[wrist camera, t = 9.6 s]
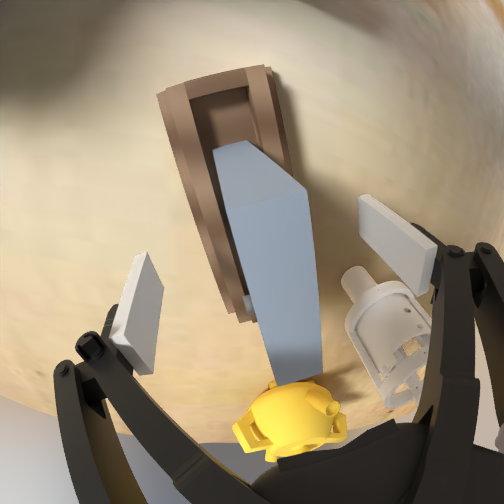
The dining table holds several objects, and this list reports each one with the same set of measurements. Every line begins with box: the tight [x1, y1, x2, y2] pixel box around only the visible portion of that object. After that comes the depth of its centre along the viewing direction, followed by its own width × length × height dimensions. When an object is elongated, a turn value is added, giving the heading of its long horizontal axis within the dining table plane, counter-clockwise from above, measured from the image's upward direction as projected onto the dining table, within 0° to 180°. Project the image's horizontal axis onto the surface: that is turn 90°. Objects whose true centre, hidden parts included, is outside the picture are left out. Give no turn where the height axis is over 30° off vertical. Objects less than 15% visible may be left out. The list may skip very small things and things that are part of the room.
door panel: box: [212, 140, 323, 387], centre depth 16 cm, size 10×3×12 cm, turn 12°
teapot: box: [232, 380, 347, 462], centre depth 33 cm, size 20×18×11 cm
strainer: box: [341, 266, 432, 408], centre depth 21 cm, size 7×7×15 cm
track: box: [156, 65, 293, 323], centre depth 20 cm, size 20×8×3 cm, turn 12°
